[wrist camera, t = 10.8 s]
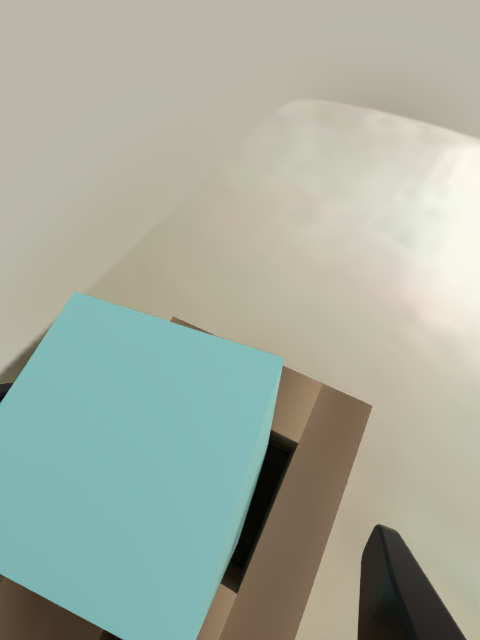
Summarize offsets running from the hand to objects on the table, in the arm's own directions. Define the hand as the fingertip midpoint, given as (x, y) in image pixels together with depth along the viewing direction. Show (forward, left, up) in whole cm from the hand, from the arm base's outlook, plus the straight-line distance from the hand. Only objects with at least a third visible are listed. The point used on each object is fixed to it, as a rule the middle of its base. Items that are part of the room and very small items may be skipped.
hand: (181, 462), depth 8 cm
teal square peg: (0, 0, -9) cm, 9 cm away
